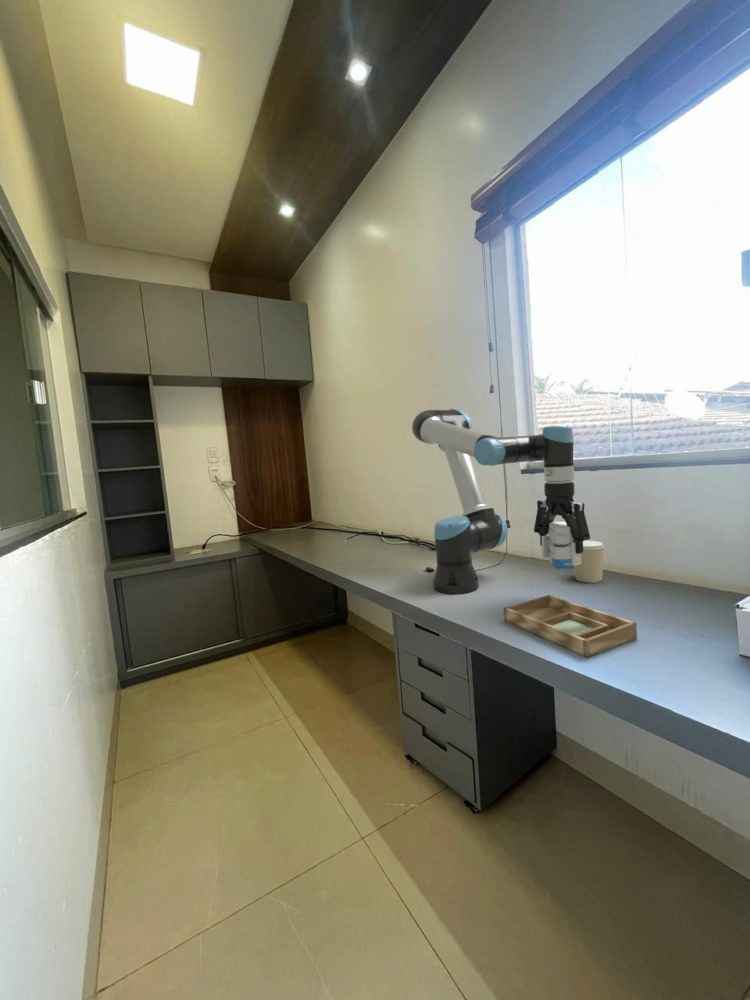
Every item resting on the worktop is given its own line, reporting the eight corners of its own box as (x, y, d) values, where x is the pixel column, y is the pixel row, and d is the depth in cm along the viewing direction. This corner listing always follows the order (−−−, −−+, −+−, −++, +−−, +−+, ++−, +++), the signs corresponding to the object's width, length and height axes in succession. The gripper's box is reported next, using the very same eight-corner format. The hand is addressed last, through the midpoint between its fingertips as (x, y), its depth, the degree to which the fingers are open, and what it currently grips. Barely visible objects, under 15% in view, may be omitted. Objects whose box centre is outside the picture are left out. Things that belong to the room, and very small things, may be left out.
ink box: (575, 569, 107) (574, 526, 106) (555, 569, 108) (554, 526, 107) (566, 560, 116) (565, 520, 114) (548, 561, 117) (547, 521, 115)
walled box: (504, 620, 103) (503, 607, 103) (549, 607, 110) (548, 594, 110) (587, 657, 82) (586, 641, 81) (636, 638, 88) (636, 622, 88)
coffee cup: (601, 574, 134) (599, 540, 133) (608, 583, 125) (607, 546, 124) (570, 575, 137) (569, 540, 136) (575, 583, 128) (574, 546, 127)
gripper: (519, 482, 118) (521, 555, 120) (585, 484, 98) (586, 572, 100) (537, 479, 121) (539, 551, 123) (605, 481, 101) (606, 567, 103)
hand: (560, 560), depth 112 cm, fingers closed on ink box, 9 cm apart
